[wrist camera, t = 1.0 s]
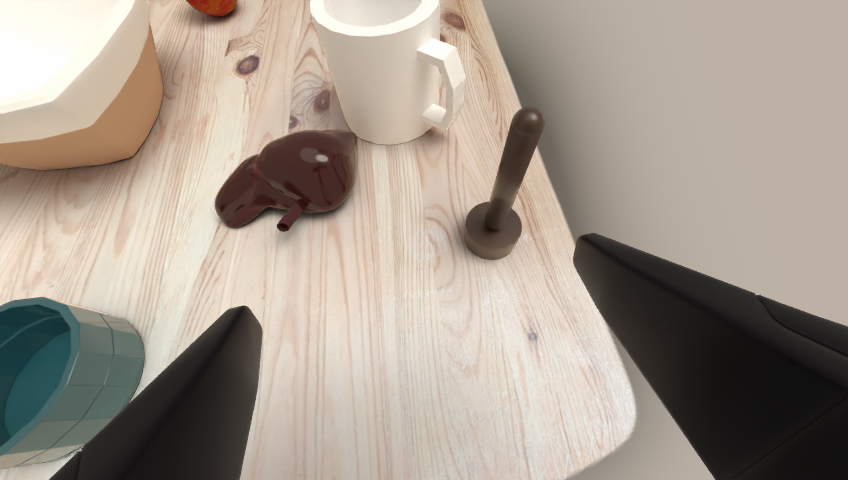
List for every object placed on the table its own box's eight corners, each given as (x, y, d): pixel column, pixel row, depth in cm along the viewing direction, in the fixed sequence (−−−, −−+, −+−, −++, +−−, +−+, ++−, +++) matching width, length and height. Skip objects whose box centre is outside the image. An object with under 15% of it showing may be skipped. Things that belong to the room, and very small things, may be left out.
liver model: (373, 178, 33) (343, 223, 24) (270, 197, 35) (206, 245, 26) (354, 114, 30) (312, 136, 21) (243, 138, 32) (159, 168, 22)
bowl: (185, 202, 29) (65, 108, 20) (-84, 229, 29) (-338, 147, 19) (230, 47, 40) (167, -61, 30) (35, 66, 39) (-91, -39, 30)
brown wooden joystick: (526, 244, 26) (600, 121, 14) (482, 269, 25) (523, 159, 14) (496, 206, 28) (539, 69, 16) (454, 227, 27) (468, 100, 15)
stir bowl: (156, 410, 21) (82, 413, 17) (-1, 494, 19) (-130, 522, 15) (140, 294, 25) (76, 272, 21) (8, 355, 23) (-93, 345, 19)
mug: (483, 111, 33) (502, -3, 24) (429, 174, 30) (427, 70, 20) (383, 67, 37) (366, -46, 28) (325, 119, 33) (282, 10, 24)
